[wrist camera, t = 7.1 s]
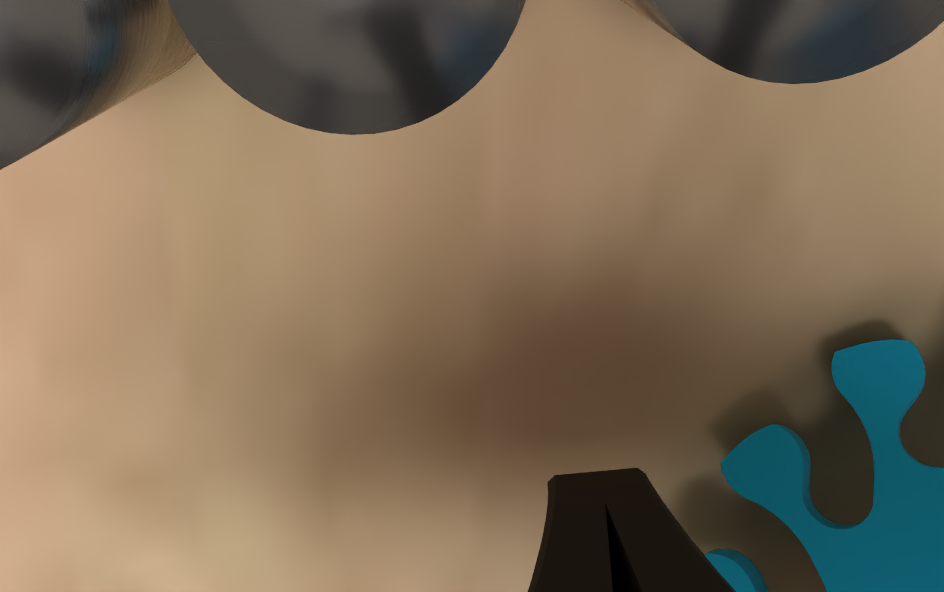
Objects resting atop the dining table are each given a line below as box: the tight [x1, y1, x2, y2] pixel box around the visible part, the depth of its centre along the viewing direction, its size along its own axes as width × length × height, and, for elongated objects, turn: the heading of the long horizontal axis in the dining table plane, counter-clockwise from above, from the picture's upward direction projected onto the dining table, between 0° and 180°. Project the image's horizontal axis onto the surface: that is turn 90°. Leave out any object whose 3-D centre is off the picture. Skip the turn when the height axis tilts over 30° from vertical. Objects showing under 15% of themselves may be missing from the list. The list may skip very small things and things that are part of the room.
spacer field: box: [0, 0, 944, 170], centre depth 12 cm, size 11×20×4 cm, turn 7°
